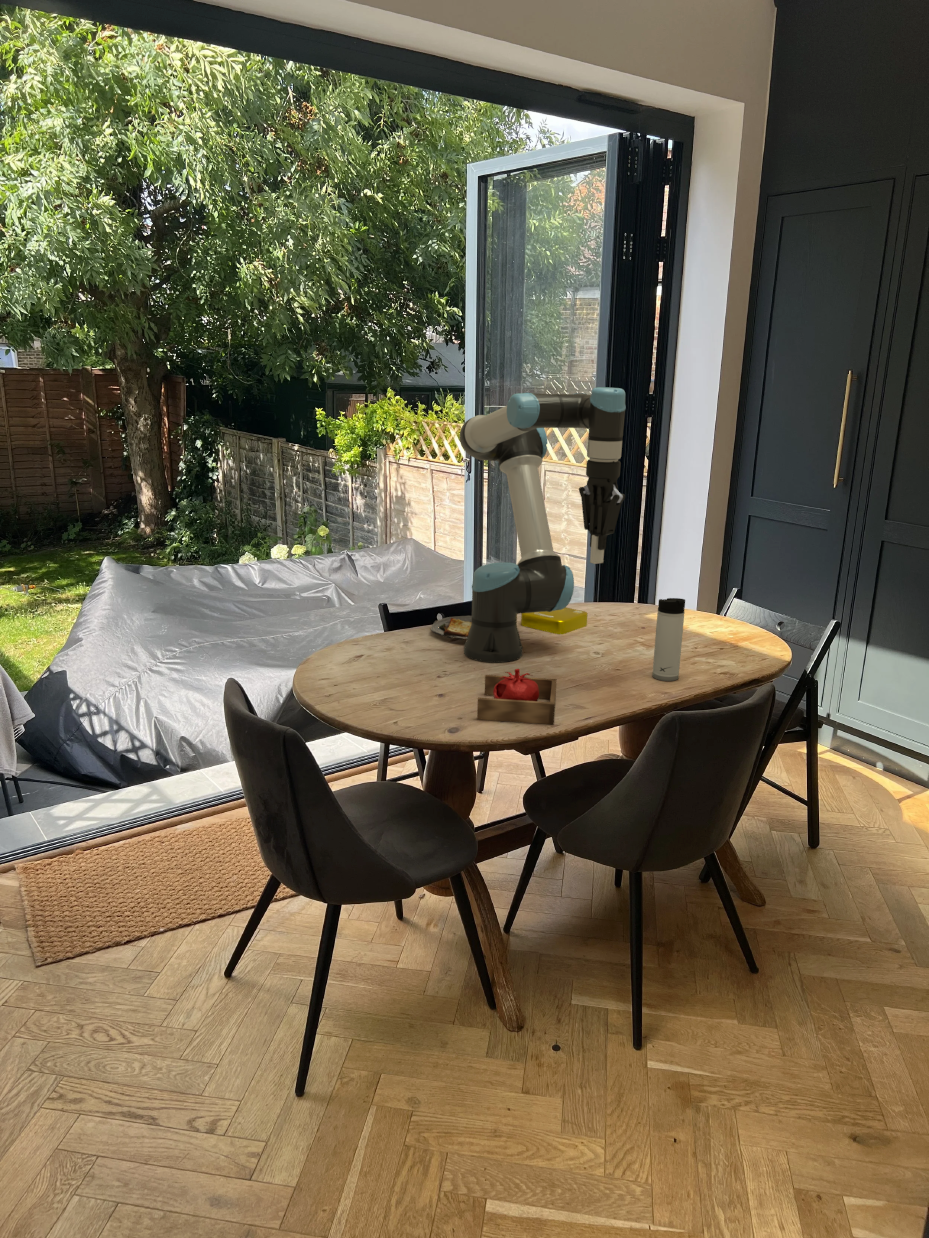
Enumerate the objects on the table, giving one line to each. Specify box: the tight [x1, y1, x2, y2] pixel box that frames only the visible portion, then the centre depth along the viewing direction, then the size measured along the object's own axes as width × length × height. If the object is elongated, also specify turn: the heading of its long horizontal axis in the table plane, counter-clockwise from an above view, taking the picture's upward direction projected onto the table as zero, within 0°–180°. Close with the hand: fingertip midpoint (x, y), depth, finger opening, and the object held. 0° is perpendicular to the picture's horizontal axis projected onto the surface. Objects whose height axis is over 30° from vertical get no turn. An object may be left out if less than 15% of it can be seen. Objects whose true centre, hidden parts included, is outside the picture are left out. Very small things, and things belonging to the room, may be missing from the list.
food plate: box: [429, 615, 472, 641], centre depth 248 cm, size 25×23×4 cm
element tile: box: [520, 606, 589, 635], centre depth 258 cm, size 15×15×5 cm
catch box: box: [476, 674, 557, 725], centre depth 192 cm, size 16×16×4 cm
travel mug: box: [651, 597, 686, 682], centre depth 212 cm, size 6×7×20 cm
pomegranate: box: [493, 668, 539, 701], centre depth 191 cm, size 10×10×9 cm
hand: (596, 562), depth 204 cm, fingers closed
